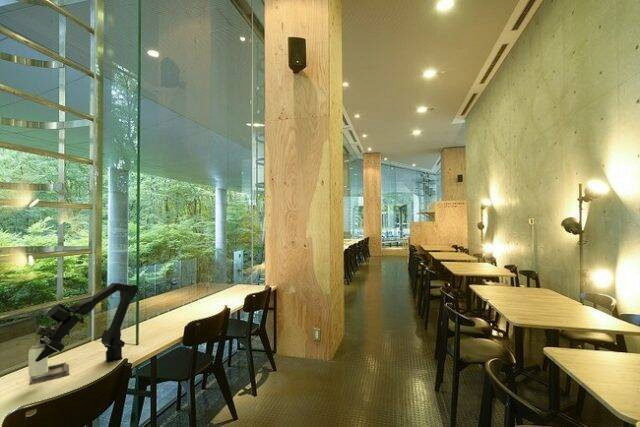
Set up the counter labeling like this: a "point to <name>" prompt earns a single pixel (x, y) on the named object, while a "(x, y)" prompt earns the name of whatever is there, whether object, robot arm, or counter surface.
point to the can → (39, 366)
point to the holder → (52, 373)
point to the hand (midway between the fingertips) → (34, 359)
